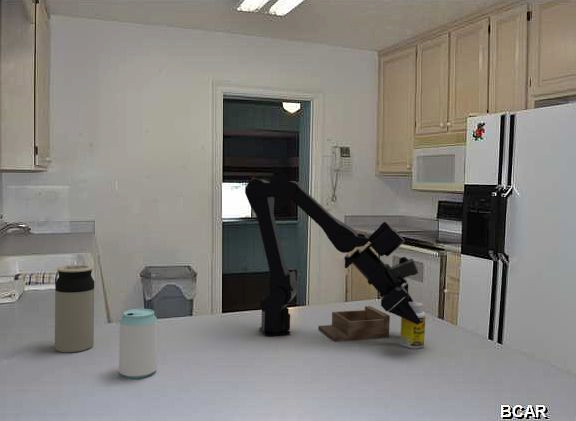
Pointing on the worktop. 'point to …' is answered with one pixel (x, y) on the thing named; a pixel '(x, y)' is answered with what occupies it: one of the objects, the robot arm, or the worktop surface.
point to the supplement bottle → (413, 329)
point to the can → (138, 343)
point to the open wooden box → (357, 325)
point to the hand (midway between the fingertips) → (419, 318)
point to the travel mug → (74, 308)
